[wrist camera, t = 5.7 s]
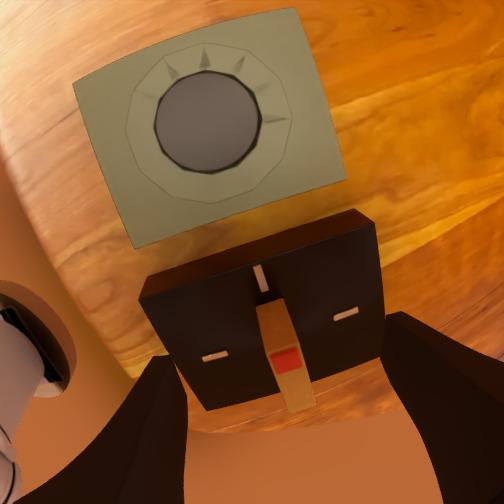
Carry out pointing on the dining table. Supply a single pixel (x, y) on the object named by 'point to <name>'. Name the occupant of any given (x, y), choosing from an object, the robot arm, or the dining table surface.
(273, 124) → the doorbell
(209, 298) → the lock plate
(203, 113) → the bell button
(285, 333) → the red-tipped wooden block
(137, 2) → the dining table surface
